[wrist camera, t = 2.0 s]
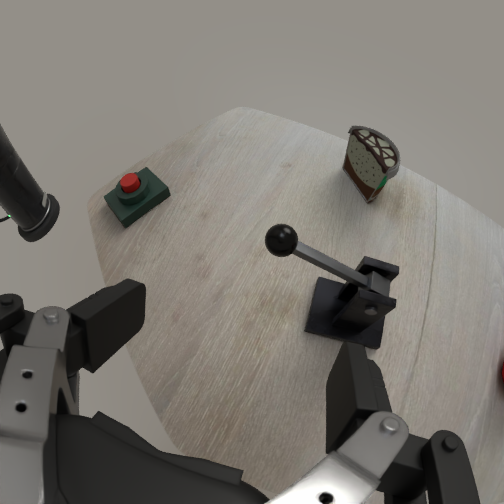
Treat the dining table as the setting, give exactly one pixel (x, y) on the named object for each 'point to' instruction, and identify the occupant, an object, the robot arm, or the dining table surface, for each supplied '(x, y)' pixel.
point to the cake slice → (370, 161)
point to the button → (130, 182)
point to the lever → (321, 259)
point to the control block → (137, 197)
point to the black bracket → (351, 307)
